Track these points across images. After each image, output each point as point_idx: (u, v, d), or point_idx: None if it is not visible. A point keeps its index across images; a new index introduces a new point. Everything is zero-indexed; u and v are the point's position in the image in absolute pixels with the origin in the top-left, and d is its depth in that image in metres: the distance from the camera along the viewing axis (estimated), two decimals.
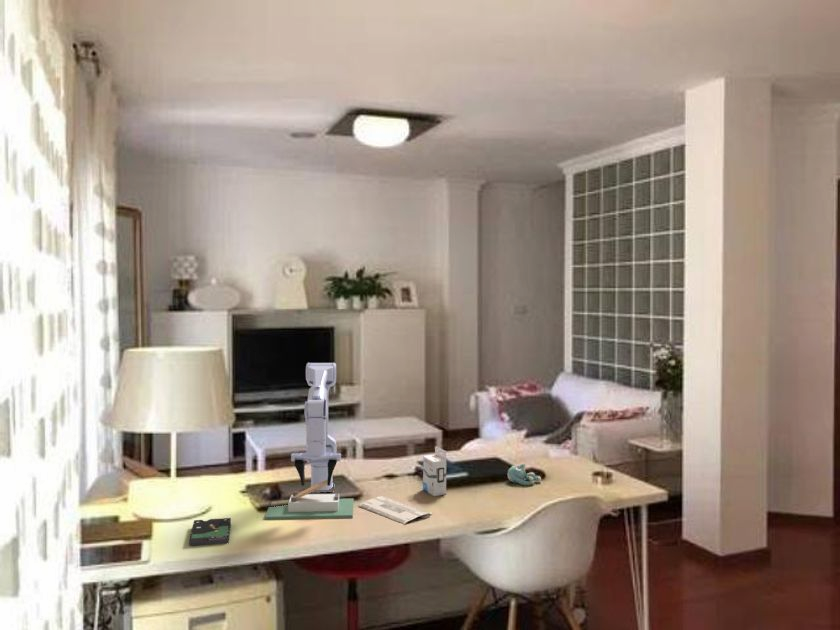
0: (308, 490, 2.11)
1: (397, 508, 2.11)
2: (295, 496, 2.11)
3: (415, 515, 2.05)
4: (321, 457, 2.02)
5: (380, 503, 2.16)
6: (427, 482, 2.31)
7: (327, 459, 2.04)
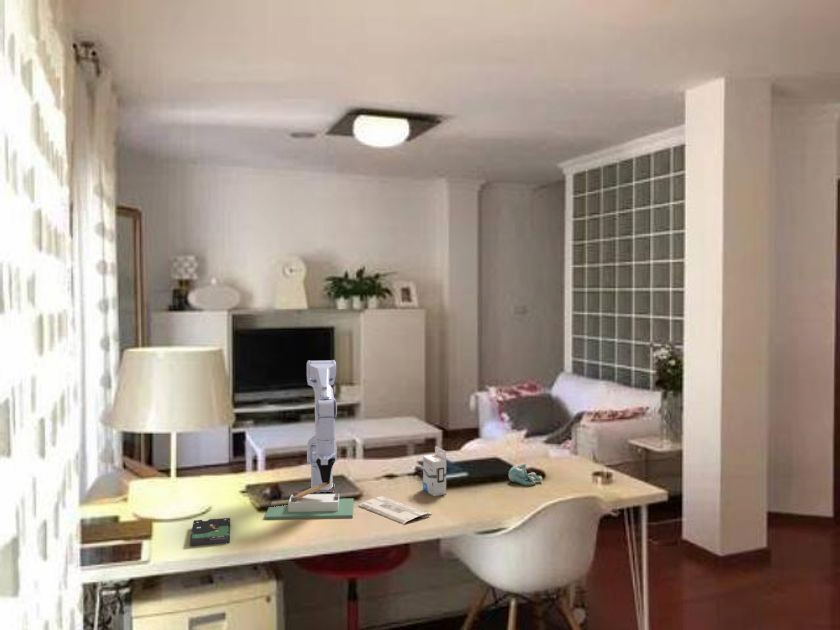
0: (308, 491, 2.11)
1: (397, 508, 2.11)
2: (295, 496, 2.11)
3: (415, 515, 2.05)
4: (317, 455, 2.10)
5: (380, 503, 2.16)
6: (427, 482, 2.31)
7: None
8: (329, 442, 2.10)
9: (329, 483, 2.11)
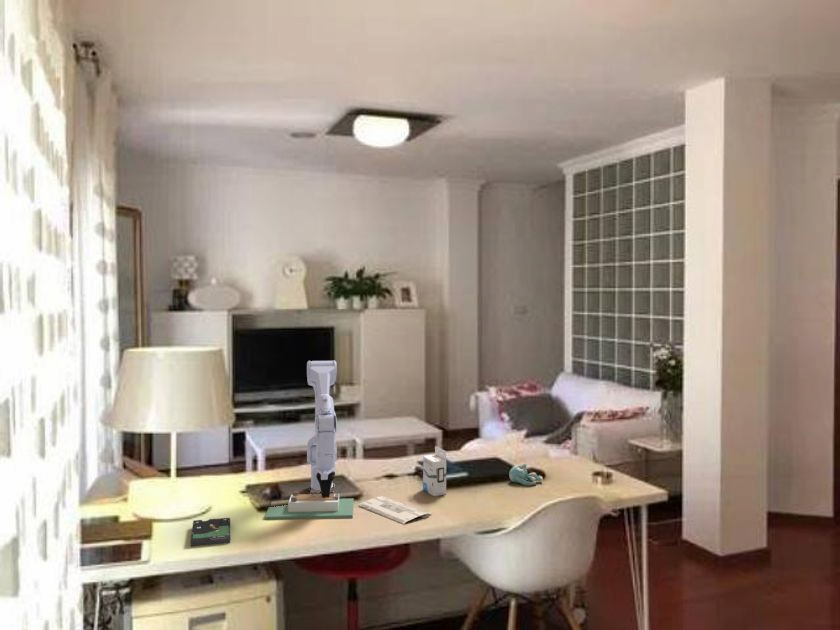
0: (310, 496, 2.12)
1: (397, 508, 2.11)
2: None
3: (414, 515, 2.05)
4: (317, 469, 2.10)
5: (380, 503, 2.16)
6: (427, 482, 2.31)
7: None
8: (329, 456, 2.10)
9: (333, 497, 2.11)
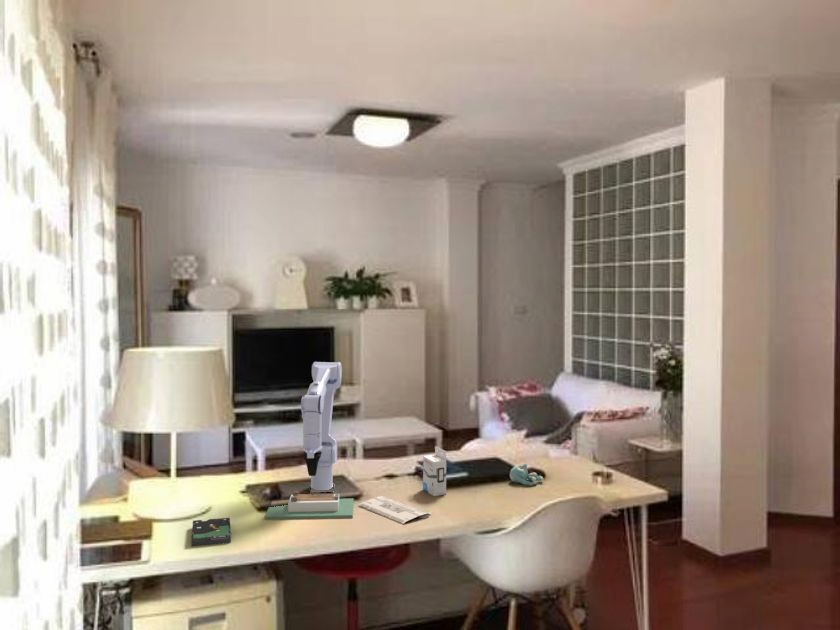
0: (310, 496, 2.12)
1: (396, 508, 2.11)
2: None
3: (414, 515, 2.05)
4: (303, 449, 2.15)
5: (380, 502, 2.16)
6: (427, 482, 2.31)
7: None
8: (315, 436, 2.14)
9: (333, 497, 2.11)
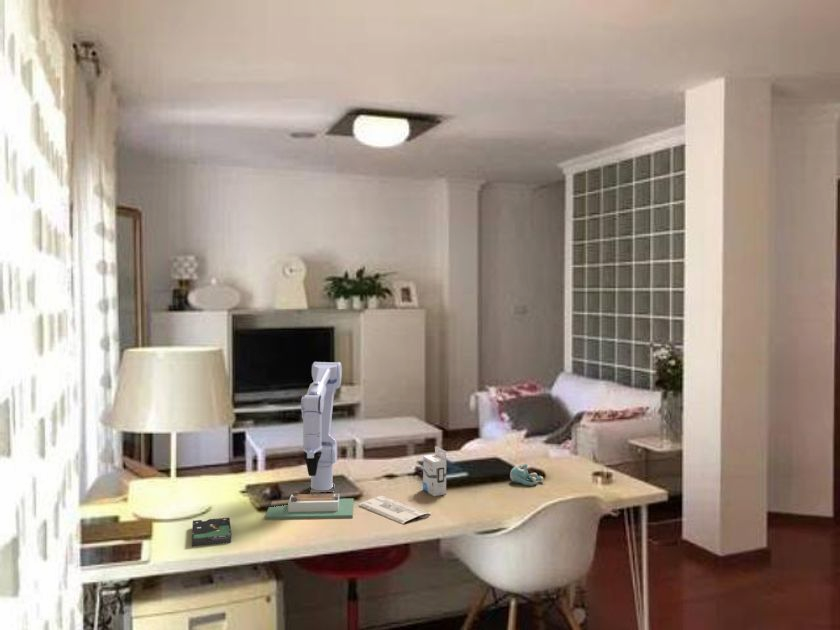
0: (310, 496, 2.12)
1: (396, 508, 2.11)
2: None
3: (414, 515, 2.05)
4: (303, 449, 2.15)
5: (380, 502, 2.16)
6: (427, 482, 2.31)
7: None
8: (315, 436, 2.14)
9: (333, 497, 2.11)
